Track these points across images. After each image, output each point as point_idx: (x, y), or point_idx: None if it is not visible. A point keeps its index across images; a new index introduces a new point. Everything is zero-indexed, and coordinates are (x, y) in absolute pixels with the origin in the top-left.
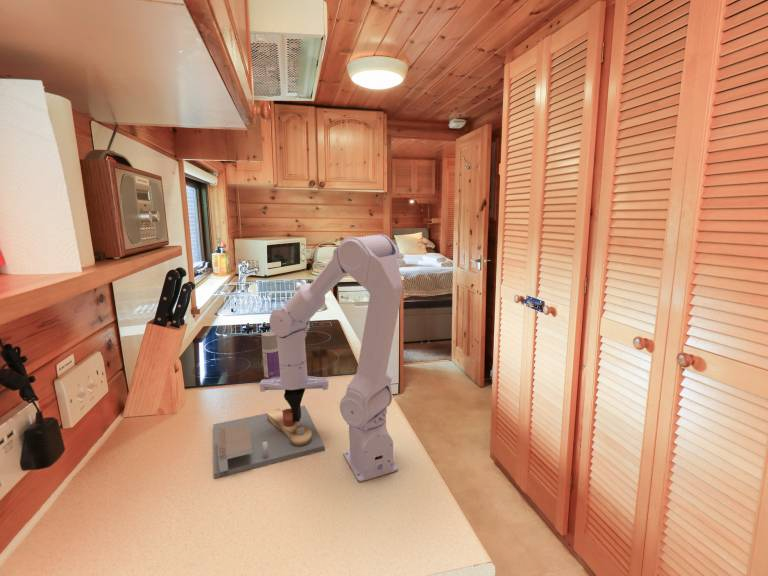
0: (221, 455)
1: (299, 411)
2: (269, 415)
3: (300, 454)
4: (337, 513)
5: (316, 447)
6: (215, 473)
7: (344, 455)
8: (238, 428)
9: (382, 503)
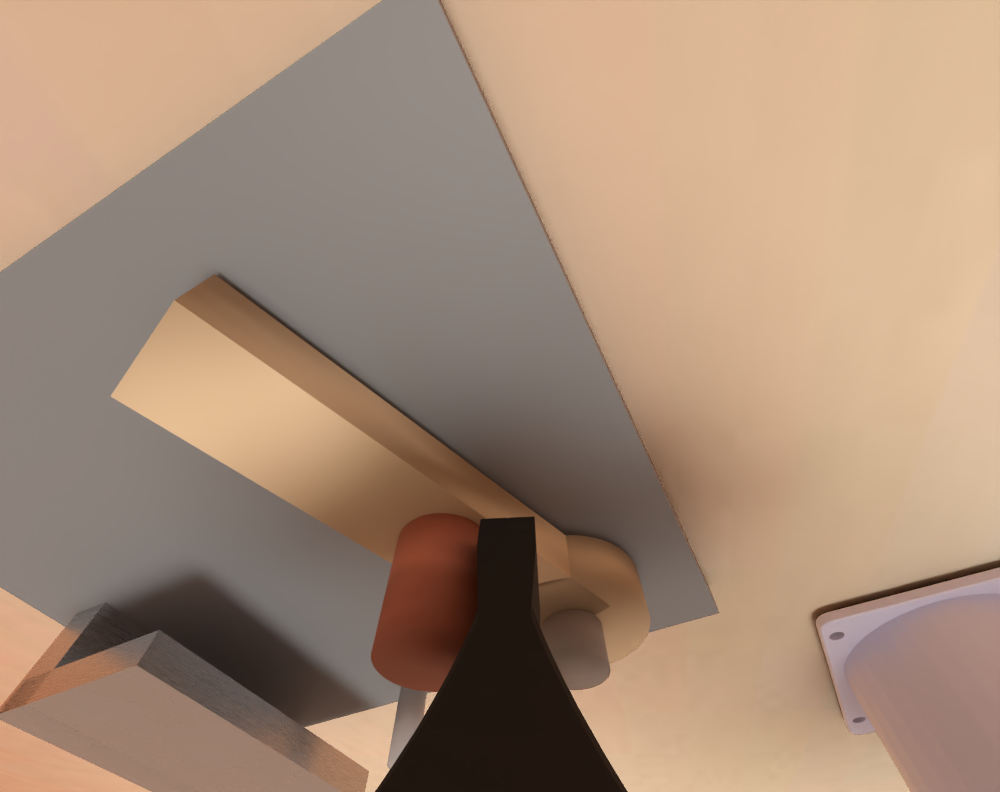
0: None
1: (536, 613)
2: (179, 434)
3: None
4: (745, 787)
5: (671, 623)
6: None
7: (819, 633)
8: (129, 705)
9: None
